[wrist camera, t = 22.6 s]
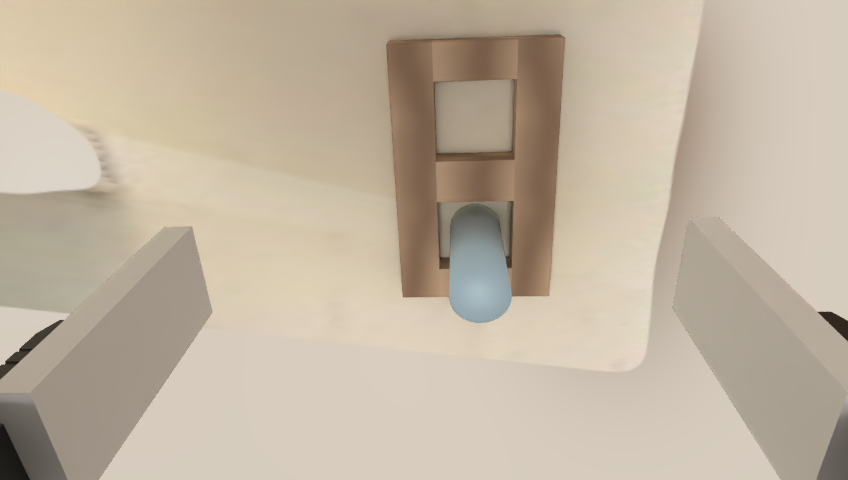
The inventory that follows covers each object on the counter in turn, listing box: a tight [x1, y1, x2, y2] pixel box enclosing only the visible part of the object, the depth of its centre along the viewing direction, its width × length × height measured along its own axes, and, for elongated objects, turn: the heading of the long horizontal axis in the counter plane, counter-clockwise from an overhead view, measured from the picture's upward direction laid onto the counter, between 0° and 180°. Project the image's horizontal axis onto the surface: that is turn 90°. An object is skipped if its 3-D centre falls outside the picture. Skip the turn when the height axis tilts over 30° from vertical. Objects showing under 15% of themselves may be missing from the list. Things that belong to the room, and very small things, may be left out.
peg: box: [449, 204, 512, 323], centre depth 42 cm, size 4×4×11 cm
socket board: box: [387, 35, 565, 297], centre depth 44 cm, size 12×20×2 cm, turn 2°
